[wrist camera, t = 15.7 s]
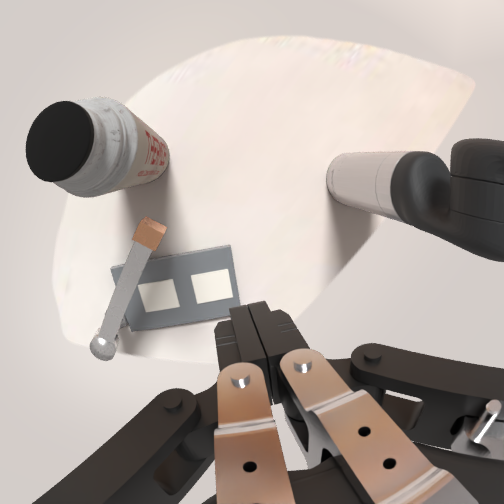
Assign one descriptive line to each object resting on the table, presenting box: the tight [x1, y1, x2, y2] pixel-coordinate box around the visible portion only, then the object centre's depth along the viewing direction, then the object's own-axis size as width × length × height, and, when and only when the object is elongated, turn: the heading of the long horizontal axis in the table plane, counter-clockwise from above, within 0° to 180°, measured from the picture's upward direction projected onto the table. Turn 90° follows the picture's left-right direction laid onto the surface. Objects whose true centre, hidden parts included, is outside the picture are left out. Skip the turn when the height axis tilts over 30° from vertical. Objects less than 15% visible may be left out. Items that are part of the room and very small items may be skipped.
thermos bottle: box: [26, 97, 169, 198], centre depth 25 cm, size 8×8×28 cm
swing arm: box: [90, 216, 167, 361], centre depth 34 cm, size 22×4×4 cm, turn 149°
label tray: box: [111, 245, 240, 332], centre depth 44 cm, size 20×12×2 cm, turn 97°
